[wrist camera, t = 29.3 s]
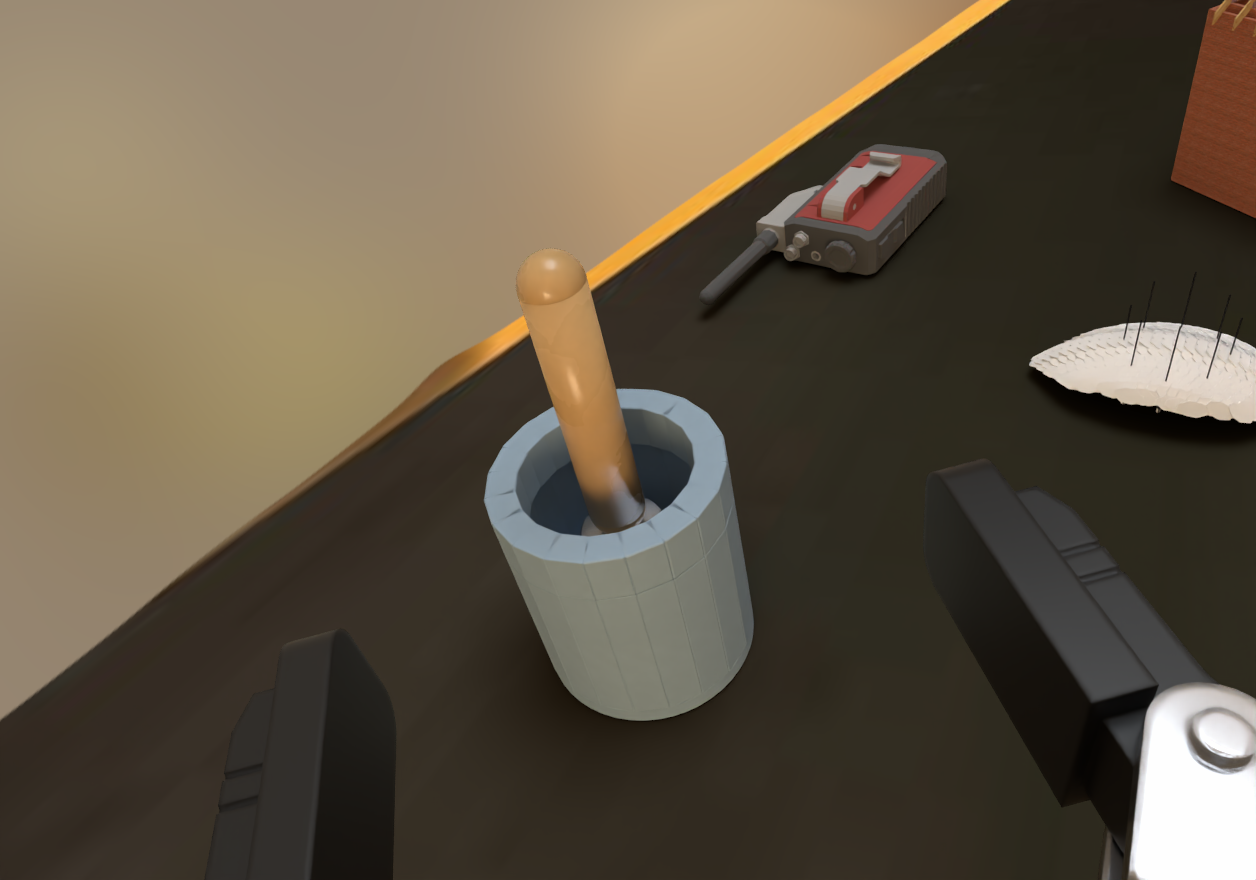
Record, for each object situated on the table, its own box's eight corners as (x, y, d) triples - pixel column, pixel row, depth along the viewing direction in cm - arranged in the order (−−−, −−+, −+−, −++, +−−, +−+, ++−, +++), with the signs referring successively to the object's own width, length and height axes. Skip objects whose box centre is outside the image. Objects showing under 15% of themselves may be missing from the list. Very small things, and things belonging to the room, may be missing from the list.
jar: (683, 759, 34) (634, 600, 28) (511, 666, 39) (435, 511, 32) (790, 591, 39) (771, 422, 33) (626, 527, 44) (580, 368, 37)
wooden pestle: (664, 681, 36) (554, 309, 24) (577, 638, 38) (437, 281, 27) (722, 599, 38) (647, 225, 27) (636, 563, 41) (532, 207, 29)
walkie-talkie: (844, 171, 66) (692, 314, 56) (842, 113, 64) (681, 254, 54) (959, 187, 62) (814, 348, 51) (962, 126, 59) (810, 283, 49)
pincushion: (1014, 406, 45) (1025, 313, 41) (1044, 337, 48) (1057, 245, 45) (1302, 464, 39) (1346, 361, 35) (1313, 380, 42) (1354, 279, 39)
